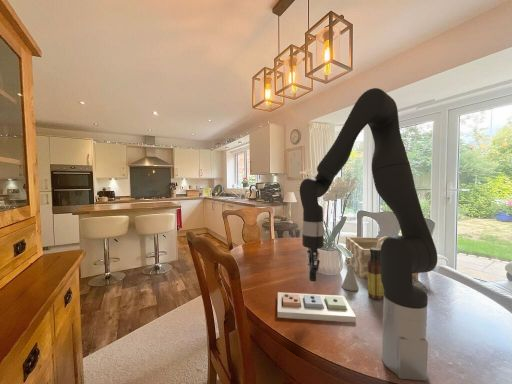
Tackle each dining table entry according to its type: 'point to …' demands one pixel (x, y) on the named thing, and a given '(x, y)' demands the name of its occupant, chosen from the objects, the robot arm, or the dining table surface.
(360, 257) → the woven basket
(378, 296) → the sauce bottle
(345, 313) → the board
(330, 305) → the tile one
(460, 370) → the dining table surface
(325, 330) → the dining table surface
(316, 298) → the tile two
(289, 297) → the tile three
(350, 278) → the flask
